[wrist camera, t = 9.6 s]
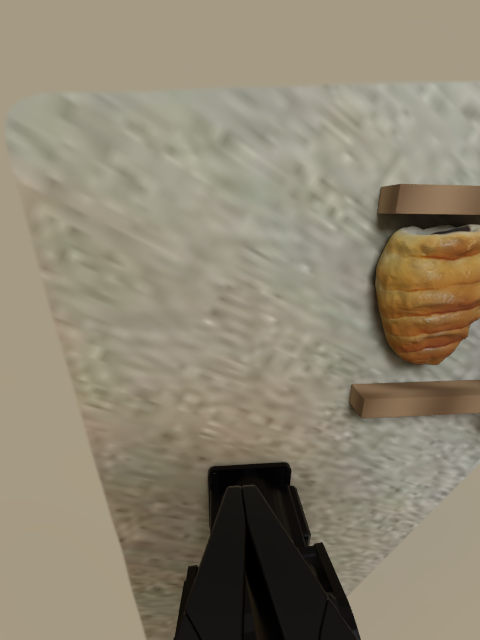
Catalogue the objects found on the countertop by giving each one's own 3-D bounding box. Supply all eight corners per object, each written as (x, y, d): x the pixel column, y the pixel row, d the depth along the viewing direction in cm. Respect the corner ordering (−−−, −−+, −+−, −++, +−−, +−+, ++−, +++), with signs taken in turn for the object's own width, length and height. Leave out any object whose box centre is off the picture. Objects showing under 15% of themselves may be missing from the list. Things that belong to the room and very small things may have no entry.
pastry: (454, 349, 23) (499, 373, 19) (366, 361, 23) (395, 388, 19) (471, 217, 20) (528, 218, 16) (369, 229, 20) (405, 233, 16)
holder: (349, 401, 23) (384, 448, 19) (381, 187, 19) (439, 178, 14) (495, 395, 24) (563, 439, 20) (561, 191, 20) (672, 184, 15)
